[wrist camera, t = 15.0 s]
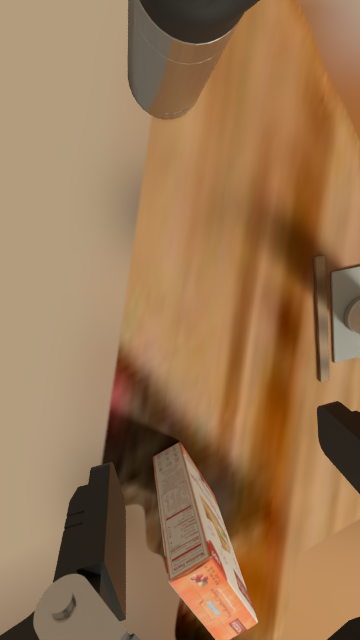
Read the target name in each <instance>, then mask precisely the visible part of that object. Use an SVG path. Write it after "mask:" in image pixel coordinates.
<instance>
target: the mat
mask: <svg viewBox="0 0 360 640" xmlns="http://www.w3.org/2000/svg"><path fill="white" fill-rule="evenodd" d="M359 297H360V266H358V267H353V268H348V269H344V270H339V271H334V272H331V300H332V334H333V362H334V363H337V362H341V361H345V360H349V359H353V358H357V357H360V335H359V334H357V333H355V332H353V331H351V330H349V329H348V328H347V326H346V325H345V321H344V314H345V311H346V308H347V307H348V305H349V304H350V303H351V302H352V301H353V300H355V299H356V298H359Z"/></svg>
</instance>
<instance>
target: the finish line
mask: <svg viewBox="0 0 360 640" xmlns="http://www.w3.org/2000/svg"><path fill="white" fill-rule="evenodd" d="M314 277H315V299H316V321H317V343H318V365H319V381H320V382H325V381H329V380H330V376H329V347H328V317H327V288H326V259H325V255H321V256H316V257H314Z"/></svg>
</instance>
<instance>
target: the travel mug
mask: <svg viewBox="0 0 360 640" xmlns="http://www.w3.org/2000/svg"><path fill="white" fill-rule="evenodd" d="M344 321H345V325H346V326H347V328H348V329H349V330H351V331H353V332H355V333H357V334H359V335H360V297H359V298H356V299H355V300H353V301H352V302H351V303H350V304H349V305H348V307H347V308H346V311H345V314H344Z"/></svg>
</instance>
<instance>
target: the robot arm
mask: <svg viewBox="0 0 360 640" xmlns="http://www.w3.org/2000/svg"><path fill="white" fill-rule="evenodd" d="M258 1H259V0H128V2H129V4H128V5H129V6H128V80H129V86H130V89H131V91H132V94H133V96H134V98H135V99H136V101H137V103H138V104H139V105H140V106H141V107H142V108H143V109H144V110H145V111H146V112H148V113H149V114H150V115H153V116H155V117H157V118H161V119H174V118H177V117H180V116H182V115H184V114H185V113H187V112H188V111H189V110H190V109H191V108H192V106H193V105H194V103H195V102H196V100H197V99H198V97H199V95H200V93H201V91H202V90H203V88H204V86H205V84H206V82H207V80H208V79H209V77H210V75H211V73H212V71H213V69H214V67H215V66H216V64H217V62H218V60H219V58H220V56H221V54H222V53H223V51H224V49H225V47H226V45H227V43H228V41H229V40H230V38H231V36H232V34H233V32H234V30H235V28H236V26H237V25H238V23H239V21H240V19H241V17H242V16H243V14H244V12H245V11H247V10H248V9H249V8H251V7H252V6H253V5H255V4H256V3H257V2H258ZM317 420H318V437H319V443H320V446H321V448H322V450H323V452H324V454H325V455H326V456H327V457H328V458H329V460H330V461H331V462H332V463H333V464H334V465H335V466H336V468H337V469H338V470H339V471H340V472H341V473H342V474H343V476H344V477H345V478H346V479H347V480H348V481H349V482H350V483H351V485H352V486H353V487H354V488H355V489H356V490H357V491H358V493H359V494H360V412H358V411H353V412H351V411H350V410H349V409H348V408H347V407H345V406H344V405H343V404H342V403H340V402H338V401H336V402H332V403H329V404H325V405H321V406H318V408H317ZM125 517H126V511H125V502H124V497H123V493H122V490H121V486H120V483H119V480H118V477H117V474H116V470H115V467H114V465H113V463H112V462H110V463H106V464H103V465H99V466H96V467H92V468H91V470H90V477H89V483H88V485H84V486H81V487H78V488H77V490H76V492H75V493H74V495H73V497H72V498H71V500H70V503H69V507H68V513H67V519H66V522H65V527H64V528H65V531H64V532H63V537H62V542H61V547H60V551H59V556H58V561H57V566H56V571H55V576H54V580H53V584H52V585H50V587H49V588H48V589H47V590H46V591H45V592H44V594H43V595H42V597H41V598H40V600H39V602H38V604H37V606H36V609H35V611H34V612H33V613H32V614H31V615H30V616H29V617H27V618H26V619H24V620H23V621H22V622H20V623H19V624H17V625H16V626H14V627H13V628H11V629H10V630H8V631H7V632H5V633H4V634H2V635H1V636H0V640H140V639H139V638H138V637H137V636H136V635H135V634H132V635H130V634H129V633H128V632H127V631H126V629H125V628H124V627H123V626H122V624H121V623H120V622H119V621H122V620H125V619H126V593H125V592H126V584H125V583H126V518H125ZM328 640H360V617H358V618H355V619H352V620H349V621H348V622H347V623H346V624H344V625H343V626H342V627H341V628H340V629H339V630H338V631H336V632H335V633H334V634H333V635H332V636H331V637H330V638H328Z"/></svg>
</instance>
